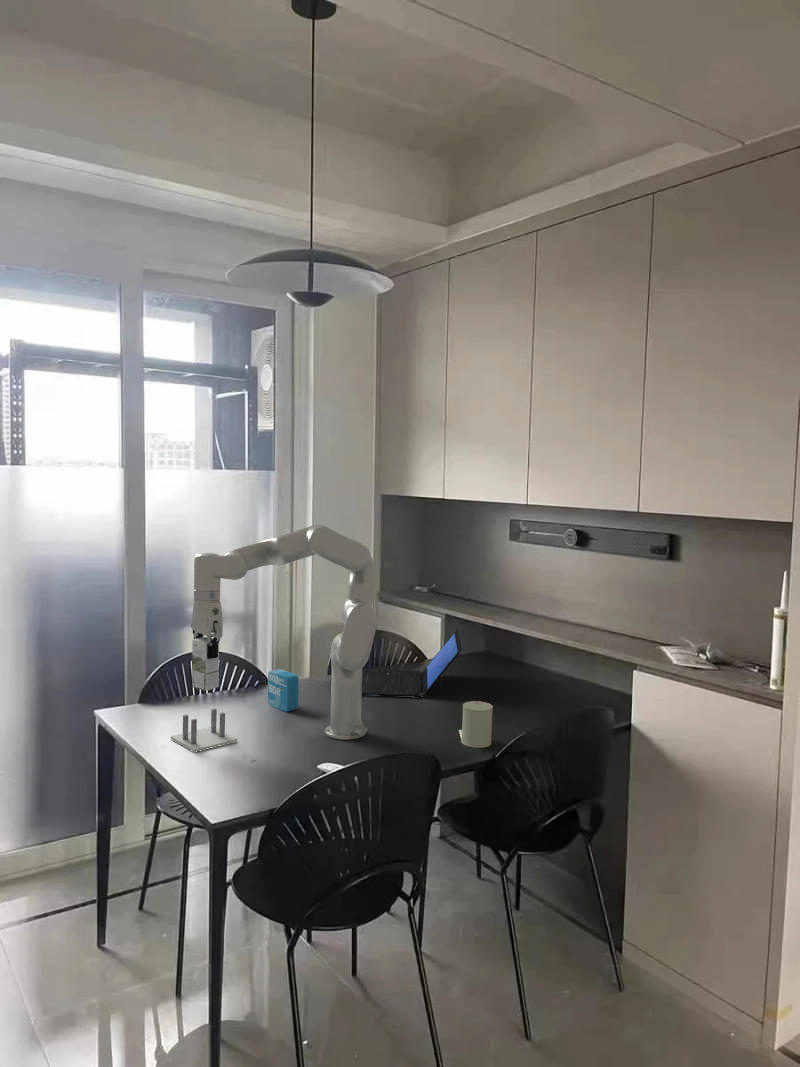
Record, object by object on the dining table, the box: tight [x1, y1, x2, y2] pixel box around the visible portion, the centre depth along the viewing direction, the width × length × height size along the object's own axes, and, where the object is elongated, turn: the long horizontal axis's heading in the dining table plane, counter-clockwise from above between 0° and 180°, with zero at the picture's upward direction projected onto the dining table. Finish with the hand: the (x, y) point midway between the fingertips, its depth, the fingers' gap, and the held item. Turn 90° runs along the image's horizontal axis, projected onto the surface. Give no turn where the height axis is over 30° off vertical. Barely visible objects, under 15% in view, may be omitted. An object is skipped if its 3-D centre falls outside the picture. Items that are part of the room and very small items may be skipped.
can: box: [460, 700, 494, 749], centre depth 239 cm, size 9×9×12 cm
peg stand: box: [170, 708, 238, 753], centre depth 233 cm, size 14×14×8 cm
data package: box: [267, 668, 300, 713], centre depth 267 cm, size 12×4×12 cm, turn 43°
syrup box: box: [191, 636, 220, 691], centre depth 231 cm, size 6×6×14 cm
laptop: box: [362, 629, 462, 697], centre depth 298 cm, size 33×38×19 cm
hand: (205, 655), depth 231 cm, fingers closed on syrup box, 6 cm apart
